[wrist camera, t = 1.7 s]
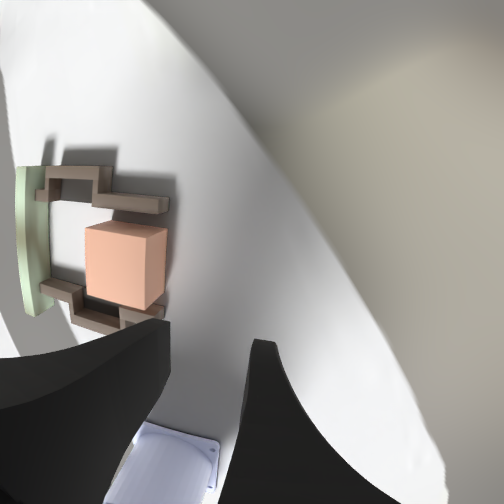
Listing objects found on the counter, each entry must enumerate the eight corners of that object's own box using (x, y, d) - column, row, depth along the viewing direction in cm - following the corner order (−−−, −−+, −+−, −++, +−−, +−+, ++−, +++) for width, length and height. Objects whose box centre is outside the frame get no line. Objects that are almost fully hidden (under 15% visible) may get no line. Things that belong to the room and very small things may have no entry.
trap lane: (164, 338, 19) (148, 357, 17) (45, 301, 20) (25, 313, 18) (172, 169, 16) (152, 169, 14) (40, 165, 17) (16, 166, 15)
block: (165, 291, 18) (144, 310, 15) (112, 278, 19) (87, 294, 16) (168, 228, 17) (145, 238, 14) (112, 219, 18) (85, 227, 15)
